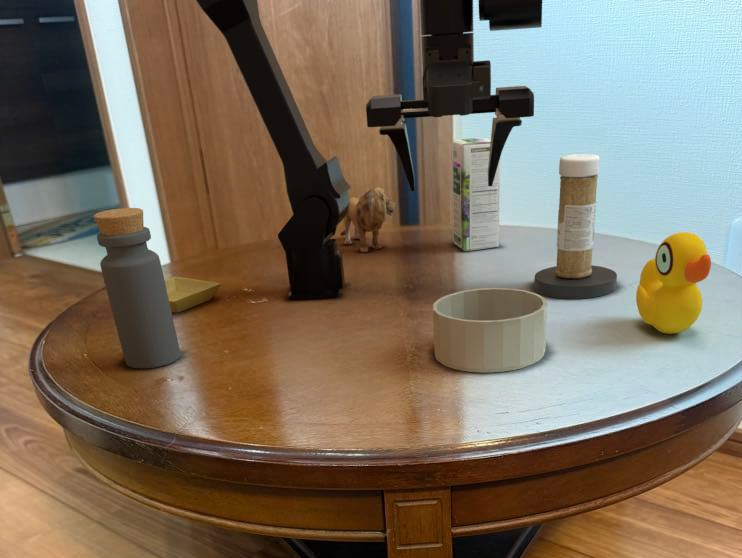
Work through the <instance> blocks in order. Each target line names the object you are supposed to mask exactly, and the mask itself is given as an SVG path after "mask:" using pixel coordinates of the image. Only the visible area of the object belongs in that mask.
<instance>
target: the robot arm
mask: <svg viewBox="0 0 742 558" xmlns="http://www.w3.org/2000/svg"><path fill="white" fill-rule="evenodd" d="M195 1H196V3H197V4H198V6H199V7H200V9H201V10H202V11H203V13H204V14H205V15H206V16H207V17H208V19H209V20H210V21H211V23H213V24H214V26H215V27H216V28H217V29H218V31H219V32H220V33H221V34H222V36H223V38H224V39H225V41H226V44H227V45H228V48H229V49H230V51H231V55H232V57H233V58H234V60H235V62H236V63H235V64H236V66H237V67H238V69H239V71H240V73H241V76H242V77H243V80H244V82H245V84H246V87H247V88H248V90H249V93H250V95H251V98H252V100H253V102H254V104H255V106H256V108H257V110H258V112H259V115H260V117H261V119H262V121H263V123H264V125H265V128H266V130H267V133H268V134H269V137H270V139H271V141H272V143H273V145H274V148H275V150H276V152H277V154H278V157H279V158H280V160H281V163H282V168H283V175H284V182H285V188H286V194H287V197H288V201H289V204H290V208H291V212H292V215H291V217H290V218H289V219H288V221H287V222H286V223H285V225H284V226H283V227H282V229H281V230H280V231H279V232H278V233H277V238H278V240H279V242H280V244H281V246H282V248H283V251H284V253H285V260H286V267H287V274H288V275H287V276H288V282H289V289H290V290H289V293H288V294H287V296H288V299H289V300H296V299H297V300H299V299H300V300H301V299H318V298H320V299H321V298H337V297H339V296H340V293H341V291H342V289H343V288H344V286H345V283H346V280H345V271H344V270H345V269H344V261H343V259H344V258H343V252H342V251H341V250H338V244H337V239H336V238H332V237H334V236H335V235H336V233H337V228H338V225H339V224H340V223H341V222H342V221H344V217H345V216H346V214H347V212H348V209H349V205H350V200H349V199H350V195H349V192H348V191H349V190H351V189H352V186H351V185H350V183H348V182H347V180H346V178H345V177H344V175H343V171H342V168H341V165H340V161H339V158H338V156H336V155H334V156H333V157H331V158H330V159H328V160H327V159H326V158H325V157H324V156H323V155H322V153H321V152H320V151H319V150H318V148H317V147H316V145H315V144H314V141H313V139H312V137H311V135H310V132H309V129H308V127H307V125H306V123H305V121H304V118H303V116H302V114H301V111H300V109H299V106H298V104H297V102H296V100H295V97H294V95H293V93H292V91H291V88H290V86H289V85H288V81H287V80H286V77H285V75H284V73H283V70H282V68H281V66H280V63H279V61H278V59H277V57H276V55H275V52H274V50H273V48H272V45H271V43H270V40H269V38H268V36H267V34H266V32H265V29H264V27H263V25H262V22H261V21H262V20H261V17H260V10H259V4H258V0H195ZM419 13H420V16H419V17H420V35H421V36H420V37H421V61H422V62H421V63H422V99H411V100H409V99H408V100H403V97H402V93H399V94H383V95H382V94H381V95H372V96H371V97H370V99H369V100H368V102H367V103H366V104H365V113H366V126H367V128H379V129H378V132H379V135H380V136H388V137H389V139H390V141H391V142H392V145H393V146H394V148H395V151H396V152H397V154H398V156H399V160H400V162H401V165H402V168H403V171H404V173H405V176H406V179H407V182H408V184H409V188H410V191H411V192H415V191H416V184H415V183H416V182H415V172H414V165H413V160H412V153H411V147H410V140H409V135H408V128H407V123H404V122H405V119H415V118H429V117H430V118H431V117H432V118H442V117H445V116H446V117H447V116H459V117H460V116H463V117H464V116H468V115H475V114H489V113H491V114H493V113H494V115H495V116H496V117H492V125H491V132H490V133H491V135H490V140H491V143H490V154H489V164H488V186H492V184H493V181H494V177H495V174H496V170H497V167H498V163H499V160H500V161H501V156H502V153H503V151H504V147H505V145H506V142H507V140H508V138H509V136H510V134H511V132H512V130H513V128H514V127H521V126H522V123H523V120H522V118H530V117H531V118H532V117H535V94H534V92H533V91H532V89H531V88H529V87H528V86H527V85H515V86H514V85H513V86H502V87H499V86H498V87H495V94H492V63H491V60H490V59H488V60H487V59H486V60H475V49H474V48H475V47H474V46H475V45H474V43H475V42H474V35H475V34H474V0H419ZM478 18H479V19H478V20H479V21H480V22H482V21H483V22H485V21H488V27H489V32H496V31H511V30H512V31H513V30H525V29H539V28H542V25H543V24H542V23H543V21H542V20H543V0H478Z"/></svg>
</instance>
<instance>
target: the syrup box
mask: <svg viewBox="0 0 742 558" xmlns="http://www.w3.org/2000/svg"><path fill="white" fill-rule="evenodd" d="M490 143H491V138H488V137H465V138H460V139H456V140H453V141H452V224H453V227H452V229H453V245H455V246H457V247H458V248H460V249H461V250H462V251H463V252H469V251H470V252H471V251H478V250H484V249H485V250H486V249H493V248H498V247H500V214H501V213H500V208H501V207H500V206H501V203H500V202H501V201H500V199H501V198H500V197H501V159H500V160H499V163H498V167H497V170H496V174H495V177H494V181H493V184H492V186H488V164H489V154H490Z"/></svg>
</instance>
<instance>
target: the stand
mask: <svg viewBox="0 0 742 558" xmlns="http://www.w3.org/2000/svg"><path fill="white" fill-rule="evenodd" d="M556 268H557V265H555V266H551V267H547V268H543V269H541V270H539V271H537V272H536V273H535V274H534V278H533V279H534V283H533V284H534V285H533V288H534V291H535V292H536V293H537V294H539V295H541V296H542V295H543V296H546V297H549V298H555V299H564V300H565V299H567V300H568V299H569V300H574V299H575V300H579V299H580V300H581V299H593V298H598V297H603V296H606V295H609V294H611V293H613V292H614V291H615V290H616V288H617V281H618V274H617V272H616V271H615V270H613V269H611V268H608V267H605V266H600V265H593V264H591V268H592V274H591V275H590V276H587V277H584V278H577V279H575V278H562V277H559V276H557V275H556V273H555V270H556Z"/></svg>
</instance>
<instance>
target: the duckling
mask: <svg viewBox="0 0 742 558" xmlns="http://www.w3.org/2000/svg"><path fill="white" fill-rule="evenodd" d="M707 251H708V250H707V247H706V244H705V242H704V241H703V239H702V238H701V237H700V236H699V235H697V234H696V233H692V232H688V231H679V232H676V233H673V234H670V235H669V236H667V237H666V238H664V239H663V240H662V241H661V243H660V244H659V246H658V247H657V250H656V252H655V257H654V258H652V259H650V260H648V261H647V262H646V263H645V265H644V266H643V268H642V270H641V272H640V277H639V284H638V285H637V288H636V293H635V294H636V295H635V301H636V307H637V311H638V313H639V315H640V318H641V319H642V321H643V322H644V323H645V324H648V325H651V326H652V327H654V329H656V330H657V331H659V332H660V333H663V334H671V335H672V334H679V333H682V332H685V331H687V330H688V329H689V328H691V326H692V325H694V323H695V322H696V321H698V319H699V317H700V316H701V312H702V308H703V297H702V293H701V290H700V289H699V287H698V285H697V283H700V282H702V281H705V280H706V278H708V276H709V274H710V272H711V266H712V258H711V256H710V254H708V252H707Z"/></svg>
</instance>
